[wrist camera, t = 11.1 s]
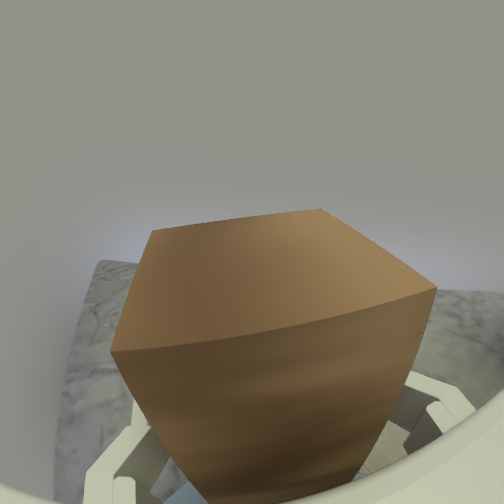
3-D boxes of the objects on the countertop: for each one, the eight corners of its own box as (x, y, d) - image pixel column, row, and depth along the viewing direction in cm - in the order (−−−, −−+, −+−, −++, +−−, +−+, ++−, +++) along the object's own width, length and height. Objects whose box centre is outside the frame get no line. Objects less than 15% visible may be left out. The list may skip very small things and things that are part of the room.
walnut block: (305, 428, 13) (320, 208, 8) (336, 501, 9) (436, 287, 4) (215, 447, 12) (152, 230, 8) (230, 527, 8) (109, 351, 3)
